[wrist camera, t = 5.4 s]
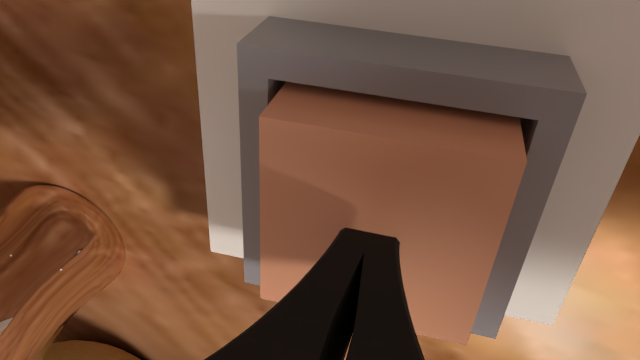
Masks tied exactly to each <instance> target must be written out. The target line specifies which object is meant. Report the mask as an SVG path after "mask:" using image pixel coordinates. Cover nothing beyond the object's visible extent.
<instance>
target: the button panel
mask: <svg viewBox="0 0 640 360" xmlns="http://www.w3.org/2000/svg"><path fill="white" fill-rule="evenodd" d="M191 6H192V19H193V31H194V44H195V57H196V69H197V82H198V95H199V108H200V120H201V133H202V146H203V158H204V171H205V184H206V196H207V209H208V222H209V234H210V247H211V251H212V252H217V253H221V254H226V255H231V256H235V257H240V258H244V282H246V283H251V284H255V285H260V177H259V116H260V114H261V113H262V112H263V111H264V109H265V108H266V107H267V106H268V104H269V103H270V102H271V100H272V99H273V98H274V97H275V95H276V94H277V93H278V92H279V90H280V89H281V88H282V86H283V85H284V84H285V83H286V81H287V82H293V83H300V84H306V85H313V86H319V87H326V88H332V89H339V90H345V91H352V92H358V93H364V94H371V95H377V96H384V97H390V98H397V99H403V100H410V101H416V102H423V103H429V104H436V105H442V106H449V107H455V108H461V109H468V110H474V111H481V112H487V113H494V114H500V115H507V116H513V117H520V123H521V128H522V134H523V140H524V146H525V151H526V157H527V164H526V167H525V170H524V173H523V176H522V179H521V182H520V185H519V188H518V191H517V194H516V197H515V200H514V203H513V206H512V209H511V212H510V215H509V218H508V221H507V224H506V227H505V230H504V233H503V236H502V239H501V242H500V245H499V249H498V252H497V255H496V258H495V261H494V264H493V267H492V270H491V273H490V276H489V279H488V282H487V285H486V288H485V291H484V294H483V297H482V300H481V303H480V306H479V309H478V312H477V315H476V318H475V321H474V324H473V327H472V330H471V333H472V334H476V335H481V336H485V337H490V338H494V339H495V338H496V336H497V333H498V330H499V328H500V325H501V322H502V320H503V317H504V315H506V316H511V317H515V318H520V319H524V320H529V321H533V322H538V323H543V324H547V325H553V323H554V321H555V319H556V317H557V314H558V312H559V310H560V308H561V306H562V303H563V301H564V299H565V297H566V295H567V293H568V290H569V288H570V286H571V284H572V282H573V279H574V277H575V275H576V273H577V271H578V268H579V266H580V264H581V262H582V260H583V258H584V255H585V253H586V251H587V249H588V247H589V244H590V242H591V240H592V238H593V236H594V233H595V231H596V229H597V227H598V225H599V223H600V220H601V218H602V216H603V214H604V212H605V209H606V207H607V205H608V203H609V201H610V199H611V196H612V194H613V192H614V190H615V188H616V185H617V183H618V181H619V179H620V177H621V174H622V172H623V170H624V168H625V166H626V164H627V161H628V159H629V157H630V155H631V153H632V150H633V148H634V146H635V144H636V142H637V139H638V137H639V135H640V0H191Z"/></svg>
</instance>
